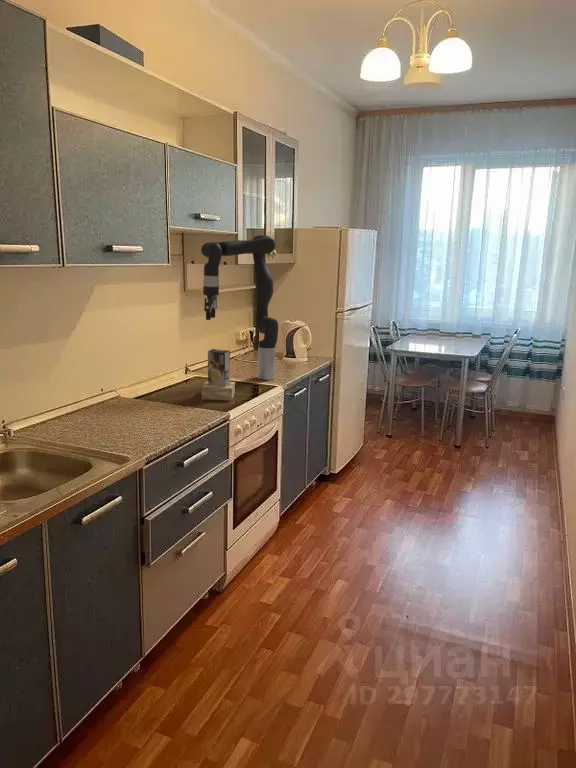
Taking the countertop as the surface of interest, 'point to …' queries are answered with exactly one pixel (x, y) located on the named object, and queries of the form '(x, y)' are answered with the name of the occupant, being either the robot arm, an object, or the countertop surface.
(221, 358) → the coffee box
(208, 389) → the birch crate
